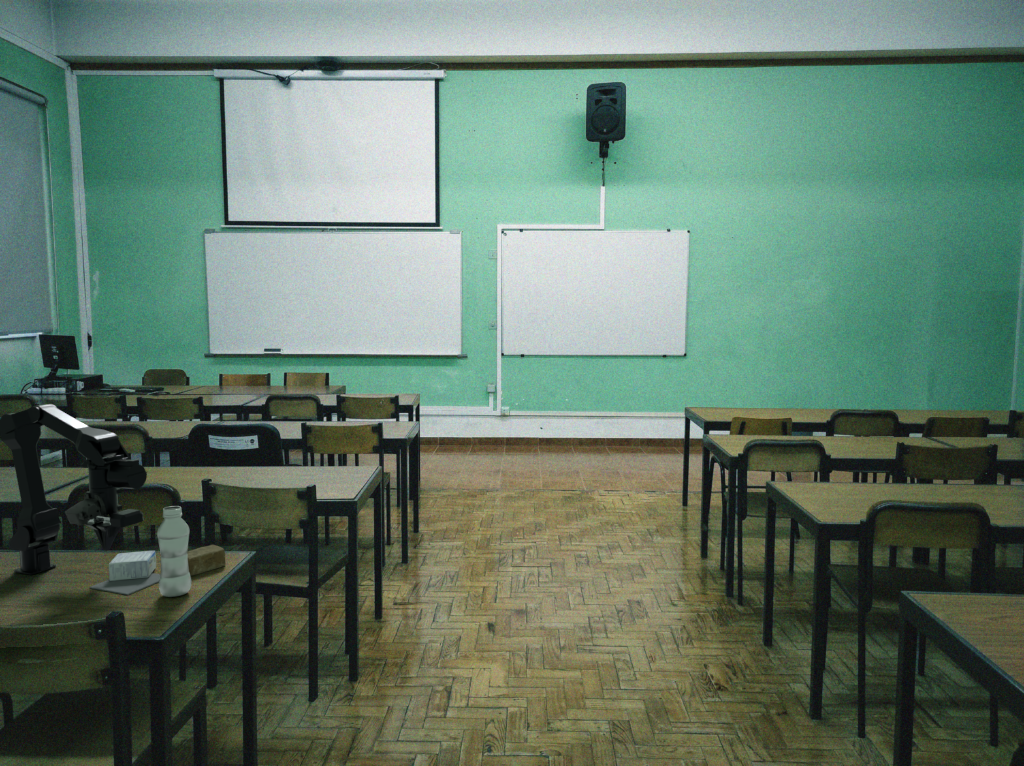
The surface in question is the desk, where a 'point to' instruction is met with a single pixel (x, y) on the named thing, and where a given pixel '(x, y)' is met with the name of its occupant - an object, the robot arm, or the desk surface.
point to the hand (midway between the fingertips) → (106, 550)
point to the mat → (127, 584)
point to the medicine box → (132, 565)
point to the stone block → (205, 559)
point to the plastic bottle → (173, 553)
